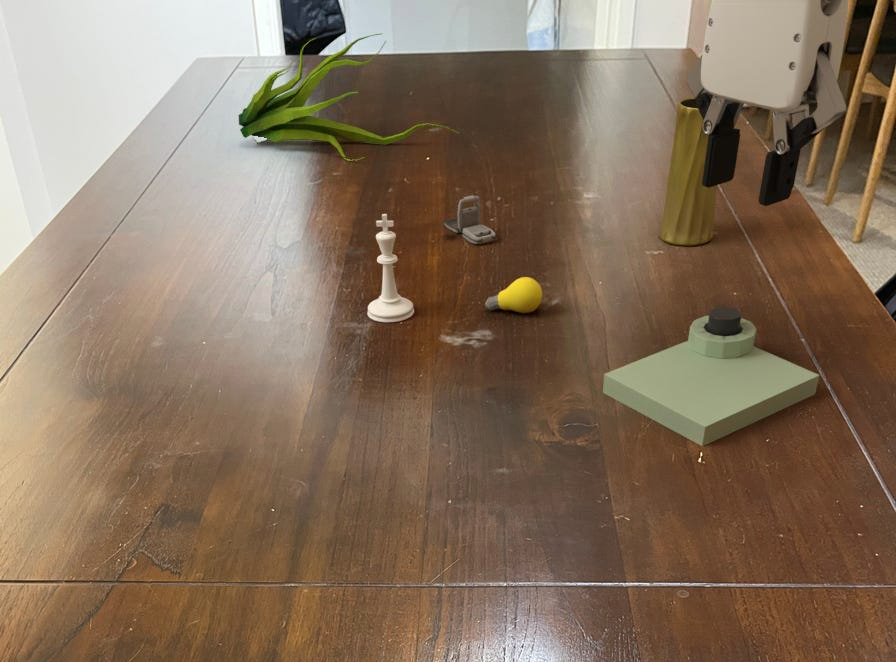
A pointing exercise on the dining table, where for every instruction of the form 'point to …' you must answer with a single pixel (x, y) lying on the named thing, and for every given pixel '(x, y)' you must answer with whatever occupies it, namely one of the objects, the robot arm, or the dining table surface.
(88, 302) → the dining table surface
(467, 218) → the strap clip
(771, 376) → the green mounting base
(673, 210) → the vase
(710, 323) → the button
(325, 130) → the decorative plant
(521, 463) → the dining table surface
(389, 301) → the chess piece
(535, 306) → the light bulb
